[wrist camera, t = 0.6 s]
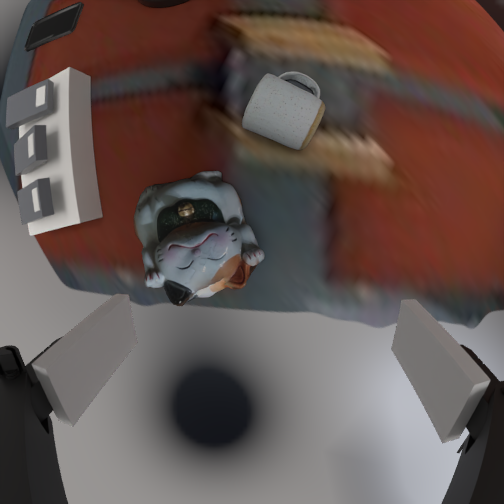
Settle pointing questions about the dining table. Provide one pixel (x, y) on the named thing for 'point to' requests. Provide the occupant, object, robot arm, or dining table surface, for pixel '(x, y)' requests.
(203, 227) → the lucky cat figurine
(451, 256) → the dining table surface
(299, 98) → the ceramic mug
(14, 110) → the block
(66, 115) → the switch unit
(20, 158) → the rocker
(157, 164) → the dining table surface
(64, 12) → the phone
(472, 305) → the dining table surface
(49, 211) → the rocker
